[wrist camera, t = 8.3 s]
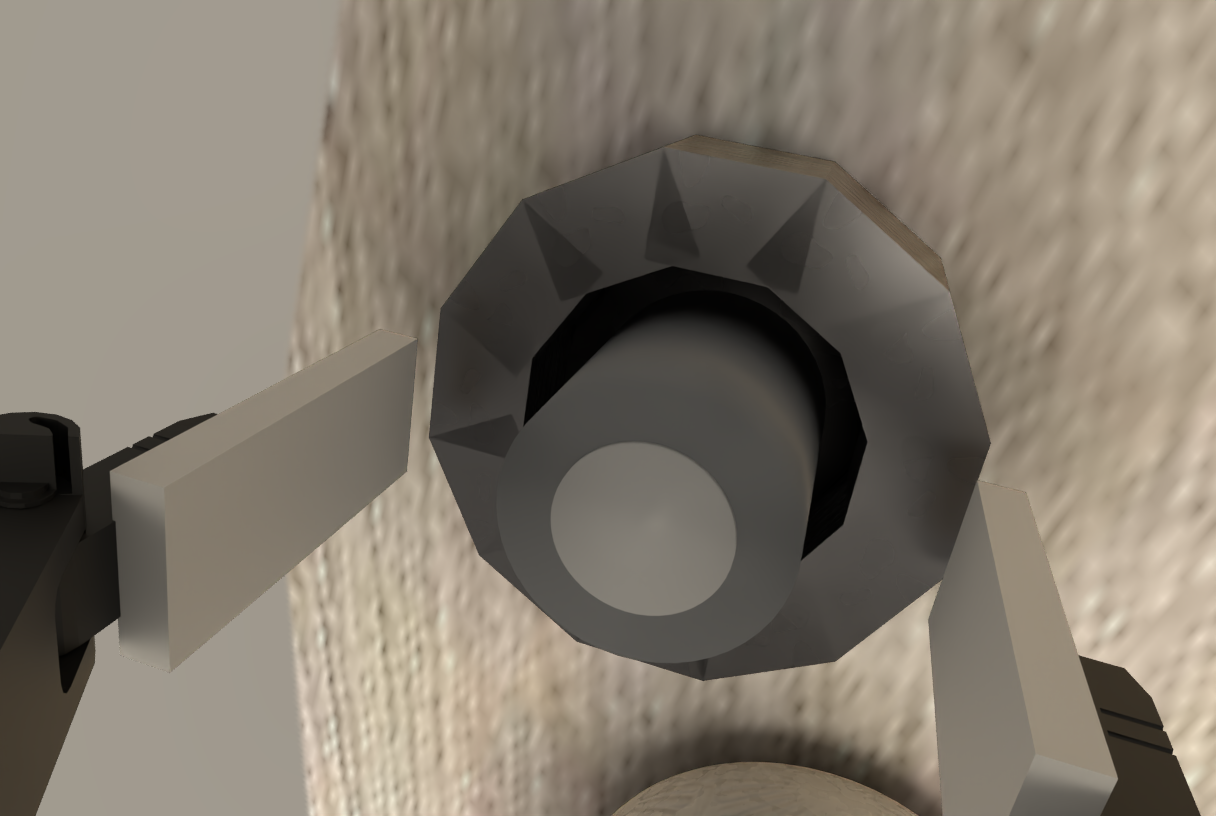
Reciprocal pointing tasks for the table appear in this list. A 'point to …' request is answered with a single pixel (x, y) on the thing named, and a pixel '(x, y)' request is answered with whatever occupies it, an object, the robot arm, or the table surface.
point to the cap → (670, 481)
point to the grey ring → (783, 282)
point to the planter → (760, 794)
